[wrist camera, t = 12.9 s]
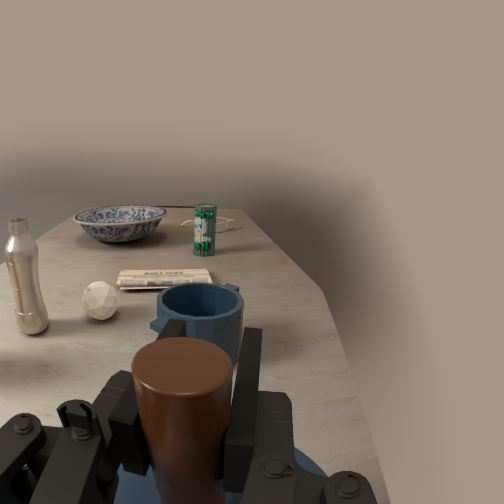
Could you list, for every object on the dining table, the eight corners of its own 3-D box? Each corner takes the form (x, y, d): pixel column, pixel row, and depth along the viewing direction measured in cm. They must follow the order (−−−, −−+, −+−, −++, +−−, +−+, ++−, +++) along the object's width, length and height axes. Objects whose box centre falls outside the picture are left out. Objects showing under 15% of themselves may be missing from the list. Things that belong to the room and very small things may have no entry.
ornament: (125, 322, 54) (101, 299, 48) (94, 329, 55) (69, 308, 49) (127, 291, 59) (105, 267, 53) (97, 300, 59) (75, 277, 53)
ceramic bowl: (79, 230, 115) (79, 205, 112) (160, 227, 129) (161, 203, 126) (69, 256, 85) (66, 223, 82) (176, 250, 99) (176, 219, 96)
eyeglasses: (213, 234, 124) (214, 223, 122) (179, 226, 132) (179, 217, 131) (235, 228, 137) (235, 218, 135) (201, 221, 145) (202, 212, 144)
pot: (261, 341, 53) (267, 290, 51) (195, 397, 38) (194, 338, 36) (203, 319, 59) (204, 272, 56) (131, 360, 44) (125, 305, 41)
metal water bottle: (13, 336, 43) (-7, 224, 37) (29, 318, 49) (14, 215, 44) (40, 341, 44) (21, 224, 38) (56, 322, 50) (42, 216, 44)
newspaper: (116, 293, 65) (115, 282, 65) (122, 278, 77) (121, 269, 76) (216, 291, 71) (216, 280, 71) (209, 277, 83) (209, 267, 83)
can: (190, 253, 98) (191, 204, 94) (203, 249, 103) (205, 203, 99) (204, 257, 95) (206, 207, 91) (217, 253, 100) (220, 205, 95)
